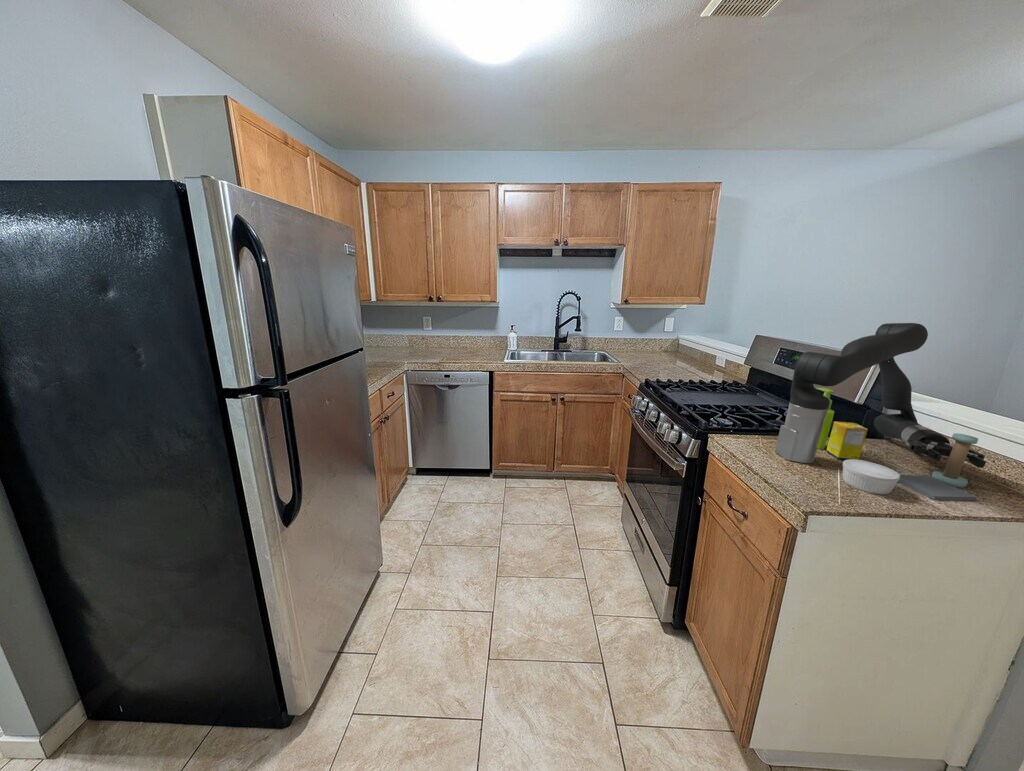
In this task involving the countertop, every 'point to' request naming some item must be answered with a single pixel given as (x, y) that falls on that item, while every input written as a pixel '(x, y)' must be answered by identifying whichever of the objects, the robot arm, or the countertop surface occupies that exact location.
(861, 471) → the ramekin
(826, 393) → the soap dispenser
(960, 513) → the countertop surface
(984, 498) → the countertop surface
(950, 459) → the teal-flanged spool
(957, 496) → the mat
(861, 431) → the supplement box
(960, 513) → the countertop surface
